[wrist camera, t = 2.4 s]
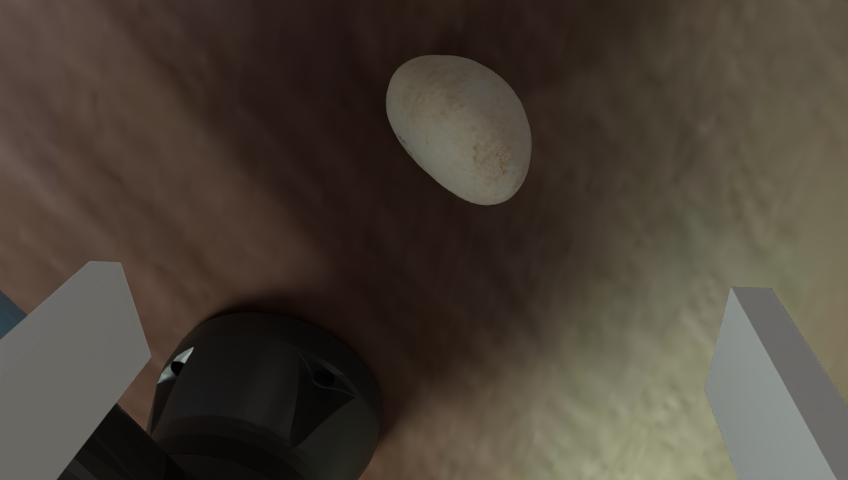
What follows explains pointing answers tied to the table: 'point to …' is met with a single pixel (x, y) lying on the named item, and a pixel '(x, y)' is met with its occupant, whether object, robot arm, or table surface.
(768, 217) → the table surface
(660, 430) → the table surface
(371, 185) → the table surface
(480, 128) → the stone
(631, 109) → the table surface
